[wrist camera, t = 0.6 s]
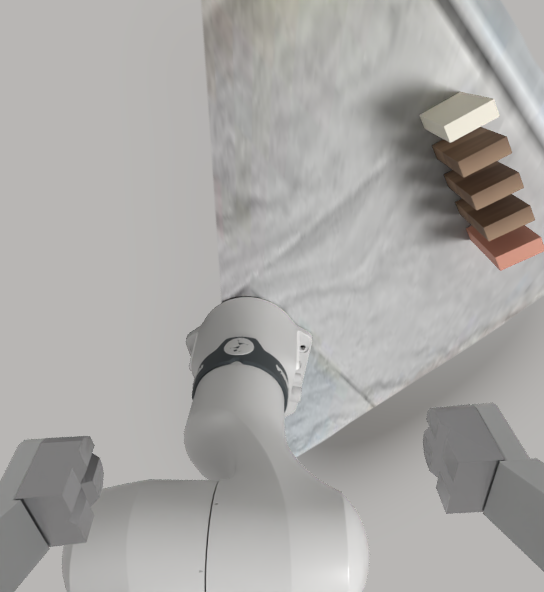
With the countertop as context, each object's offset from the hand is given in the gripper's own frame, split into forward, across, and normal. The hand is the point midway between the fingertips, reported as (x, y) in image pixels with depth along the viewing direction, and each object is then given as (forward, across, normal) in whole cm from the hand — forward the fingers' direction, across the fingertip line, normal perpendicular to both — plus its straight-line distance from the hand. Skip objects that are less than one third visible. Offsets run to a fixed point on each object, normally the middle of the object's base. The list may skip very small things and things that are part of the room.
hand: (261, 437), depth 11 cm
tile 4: (+48, +24, -8) cm, 55 cm away
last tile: (+49, +22, -4) cm, 54 cm away
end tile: (+47, +29, -18) cm, 58 cm away
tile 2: (+47, +28, -15) cm, 57 cm away
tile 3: (+48, +26, -11) cm, 55 cm away
